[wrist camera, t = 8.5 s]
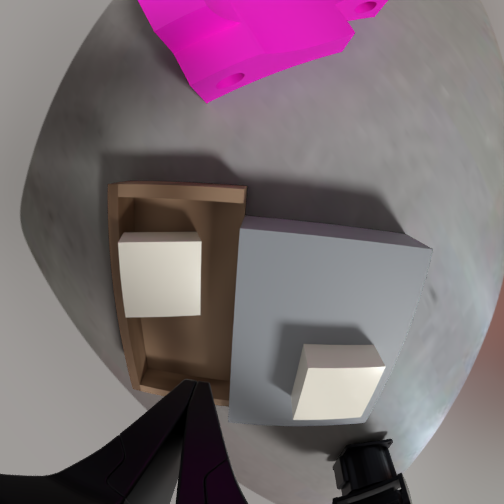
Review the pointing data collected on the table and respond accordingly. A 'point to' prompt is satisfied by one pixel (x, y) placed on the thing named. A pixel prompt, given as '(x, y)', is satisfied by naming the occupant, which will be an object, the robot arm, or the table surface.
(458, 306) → the table surface
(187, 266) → the tile
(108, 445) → the robot arm
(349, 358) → the tile
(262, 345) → the board
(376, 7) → the toy block
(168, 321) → the box
